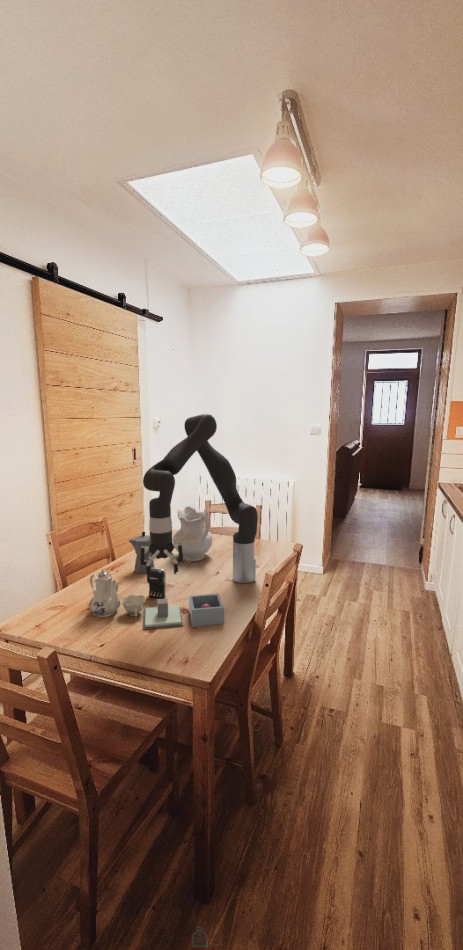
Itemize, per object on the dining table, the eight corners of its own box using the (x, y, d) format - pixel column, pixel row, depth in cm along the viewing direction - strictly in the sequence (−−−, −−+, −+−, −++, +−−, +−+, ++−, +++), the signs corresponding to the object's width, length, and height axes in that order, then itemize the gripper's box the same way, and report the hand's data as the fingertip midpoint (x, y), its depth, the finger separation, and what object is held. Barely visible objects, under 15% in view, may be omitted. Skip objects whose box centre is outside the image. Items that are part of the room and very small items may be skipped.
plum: (210, 611, 148) (210, 601, 147) (212, 617, 144) (212, 606, 143) (199, 612, 147) (199, 602, 146) (201, 618, 143) (200, 607, 143)
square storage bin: (219, 608, 152) (219, 593, 151) (224, 623, 141) (224, 607, 140) (189, 611, 150) (188, 595, 149) (191, 626, 139) (191, 610, 138)
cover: (179, 607, 152) (178, 592, 151) (181, 623, 140) (181, 607, 139) (145, 610, 150) (145, 595, 149) (145, 627, 138) (144, 610, 137)
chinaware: (154, 616, 149) (156, 571, 148) (115, 631, 136) (117, 582, 135) (108, 594, 167) (110, 554, 165) (69, 605, 154) (71, 562, 152)
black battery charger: (146, 598, 160) (145, 570, 159) (151, 593, 164) (150, 566, 162) (162, 600, 158) (161, 572, 156) (166, 596, 162) (166, 568, 160)
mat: (180, 608, 152) (180, 606, 152) (182, 626, 140) (182, 624, 140) (144, 611, 150) (144, 609, 150) (143, 629, 137) (143, 628, 137)
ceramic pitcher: (223, 558, 206) (225, 509, 204) (199, 568, 190) (201, 514, 188) (189, 550, 218) (190, 503, 215) (164, 559, 201) (165, 508, 199)
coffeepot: (131, 576, 181) (130, 536, 178) (128, 568, 190) (126, 530, 187) (166, 571, 187) (165, 532, 184) (161, 563, 196) (160, 527, 193)
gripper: (181, 524, 144) (182, 568, 147) (139, 527, 142) (141, 571, 144) (182, 530, 137) (184, 577, 140) (138, 533, 135) (141, 580, 137)
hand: (162, 574), depth 142 cm, fingers open, 8 cm apart
